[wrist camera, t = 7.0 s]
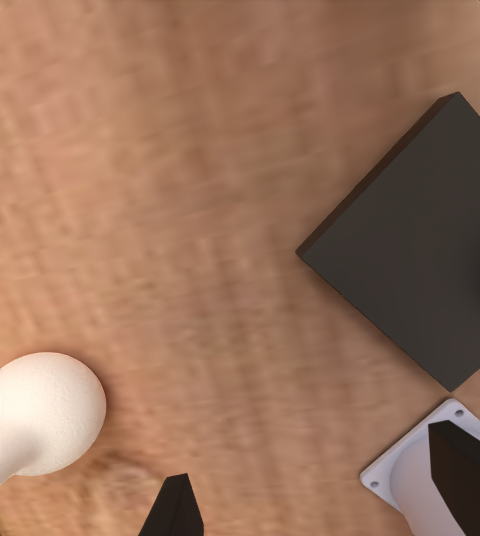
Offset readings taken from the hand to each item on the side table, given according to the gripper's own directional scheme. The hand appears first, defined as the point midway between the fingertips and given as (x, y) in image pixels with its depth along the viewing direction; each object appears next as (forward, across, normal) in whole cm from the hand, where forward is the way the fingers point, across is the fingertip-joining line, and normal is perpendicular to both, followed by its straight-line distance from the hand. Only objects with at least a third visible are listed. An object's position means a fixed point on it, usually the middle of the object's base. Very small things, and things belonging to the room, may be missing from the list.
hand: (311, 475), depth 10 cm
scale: (+9, -10, -2) cm, 14 cm away
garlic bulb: (+10, +13, +1) cm, 16 cm away
